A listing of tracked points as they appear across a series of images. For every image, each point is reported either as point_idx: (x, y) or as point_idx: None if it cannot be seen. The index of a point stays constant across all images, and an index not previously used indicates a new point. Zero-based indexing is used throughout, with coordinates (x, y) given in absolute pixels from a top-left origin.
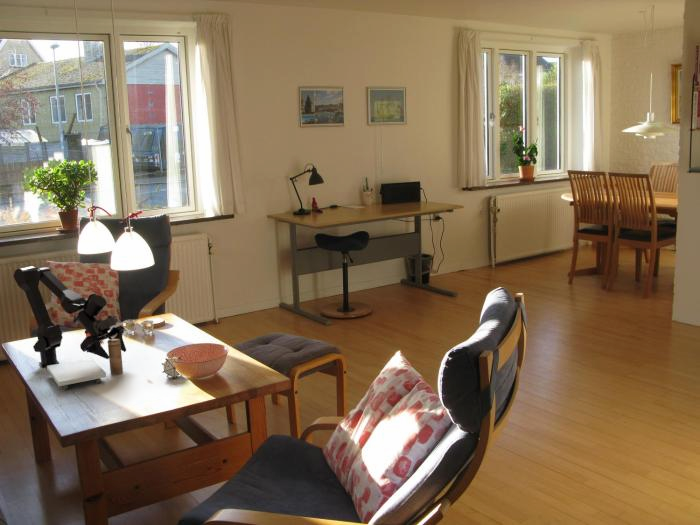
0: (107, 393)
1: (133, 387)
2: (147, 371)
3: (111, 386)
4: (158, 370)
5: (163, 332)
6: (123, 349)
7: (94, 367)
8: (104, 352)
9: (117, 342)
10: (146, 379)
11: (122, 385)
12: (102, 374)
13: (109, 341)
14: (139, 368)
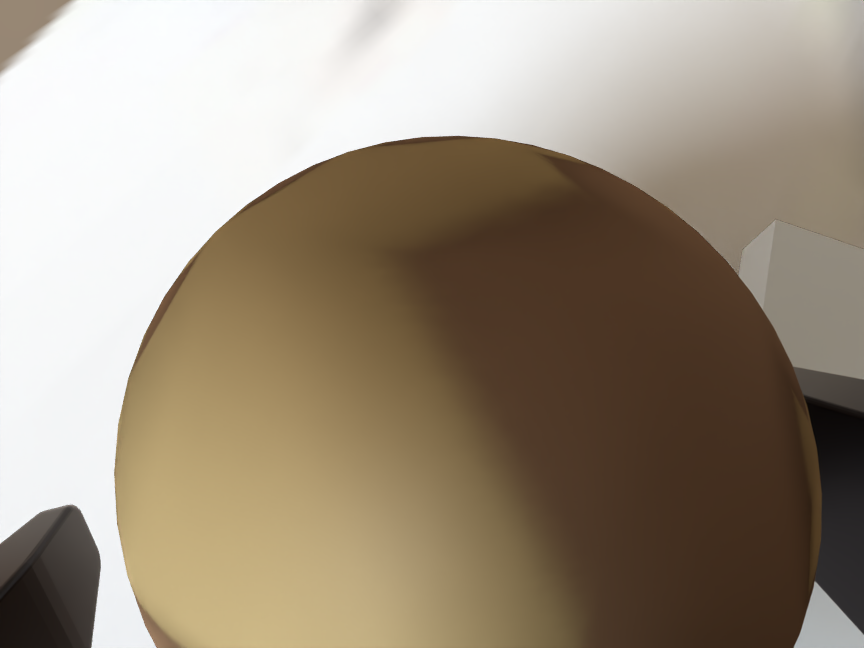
0: (803, 83)
1: (569, 18)
2: (150, 242)
3: (700, 188)
4: (63, 165)
5: None
6: (70, 586)
7: (823, 626)
8: (849, 380)
9: (461, 172)
10: (359, 68)
11: (609, 126)
12: (817, 241)
13: (735, 475)
14: (92, 429)
